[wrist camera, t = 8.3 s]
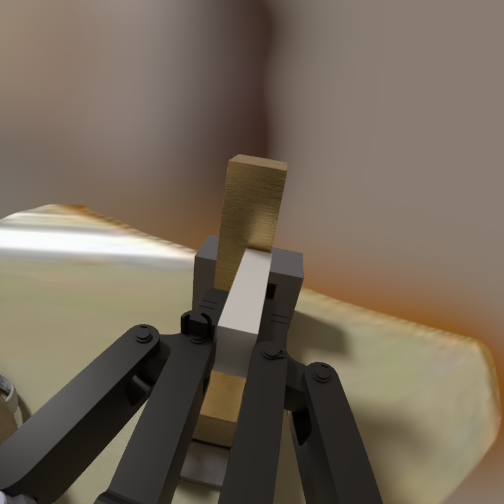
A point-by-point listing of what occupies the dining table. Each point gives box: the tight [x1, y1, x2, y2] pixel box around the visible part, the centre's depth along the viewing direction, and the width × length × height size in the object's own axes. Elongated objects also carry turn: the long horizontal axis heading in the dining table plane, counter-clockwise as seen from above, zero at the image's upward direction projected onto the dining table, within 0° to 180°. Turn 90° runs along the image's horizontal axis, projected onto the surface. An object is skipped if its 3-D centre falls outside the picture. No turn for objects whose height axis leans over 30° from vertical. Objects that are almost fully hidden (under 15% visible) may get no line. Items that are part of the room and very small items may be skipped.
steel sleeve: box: [179, 438, 231, 489], centre depth 16 cm, size 7×8×4 cm
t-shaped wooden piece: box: [192, 154, 288, 447], centre depth 18 cm, size 4×14×16 cm, turn 172°
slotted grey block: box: [192, 235, 304, 331], centre depth 29 cm, size 10×5×7 cm, turn 83°
